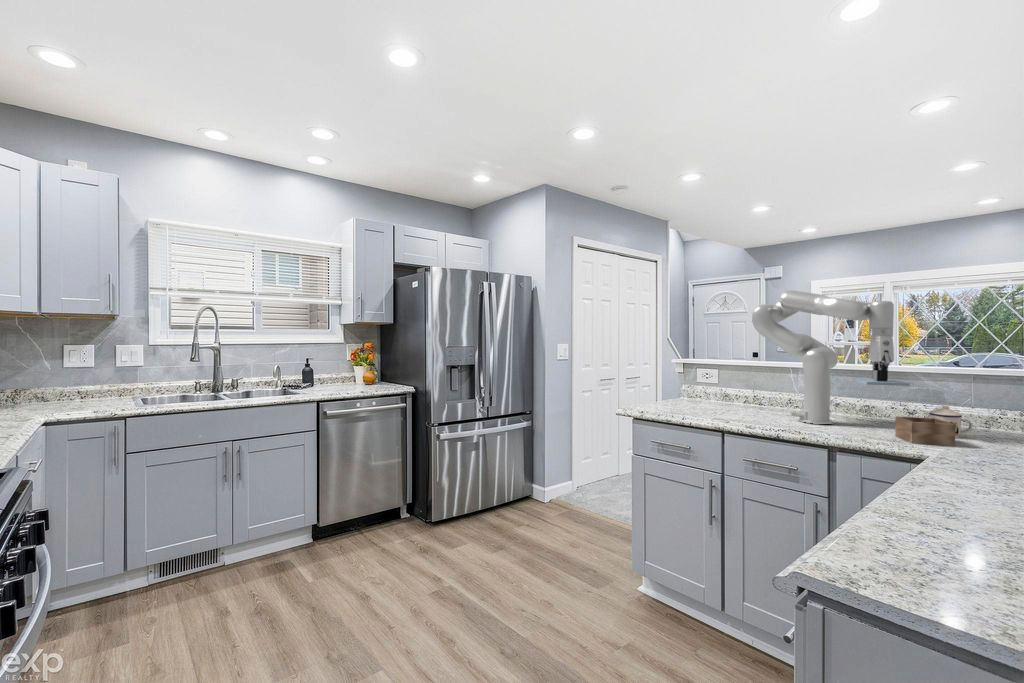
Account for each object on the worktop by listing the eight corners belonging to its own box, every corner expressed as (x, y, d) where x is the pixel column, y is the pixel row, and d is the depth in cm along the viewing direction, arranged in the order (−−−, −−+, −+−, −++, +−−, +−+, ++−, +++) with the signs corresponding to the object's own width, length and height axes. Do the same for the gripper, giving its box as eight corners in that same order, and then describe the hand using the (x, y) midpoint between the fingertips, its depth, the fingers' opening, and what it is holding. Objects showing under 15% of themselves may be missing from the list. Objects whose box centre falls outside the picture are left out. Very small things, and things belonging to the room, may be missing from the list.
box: (911, 445, 163) (912, 422, 163) (895, 438, 174) (895, 416, 174) (954, 448, 159) (955, 424, 159) (935, 440, 171) (935, 418, 171)
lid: (866, 384, 183) (866, 371, 183) (853, 381, 196) (853, 368, 196) (909, 385, 179) (909, 372, 179) (892, 382, 192) (892, 370, 192)
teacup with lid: (930, 438, 175) (931, 406, 175) (925, 433, 183) (926, 403, 183) (975, 442, 169) (976, 409, 169) (968, 437, 177) (969, 406, 177)
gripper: (902, 333, 178) (901, 382, 178) (882, 333, 194) (881, 378, 194) (878, 332, 180) (877, 381, 181) (861, 333, 196) (860, 378, 196)
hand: (879, 379), depth 187 cm, fingers closed on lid, 3 cm apart
